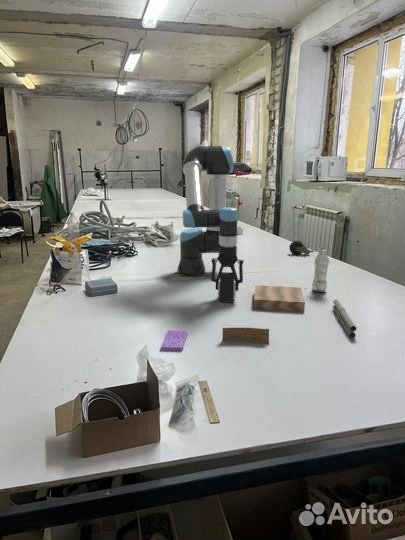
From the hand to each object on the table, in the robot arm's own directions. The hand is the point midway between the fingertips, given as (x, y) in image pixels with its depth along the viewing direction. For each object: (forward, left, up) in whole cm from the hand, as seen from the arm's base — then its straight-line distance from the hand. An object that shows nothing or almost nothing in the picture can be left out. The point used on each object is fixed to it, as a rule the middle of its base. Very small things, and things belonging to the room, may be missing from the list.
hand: (226, 297), depth 161 cm
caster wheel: (+39, +86, -1) cm, 94 cm away
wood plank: (+10, -39, -1) cm, 40 cm away
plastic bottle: (+41, +17, -1) cm, 44 cm away
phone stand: (0, 0, -1) cm, 1 cm away
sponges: (-13, -42, -2) cm, 44 cm away
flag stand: (-8, +150, -1) cm, 150 cm away
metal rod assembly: (+45, -17, -1) cm, 48 cm away
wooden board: (+22, 0, -1) cm, 22 cm away
